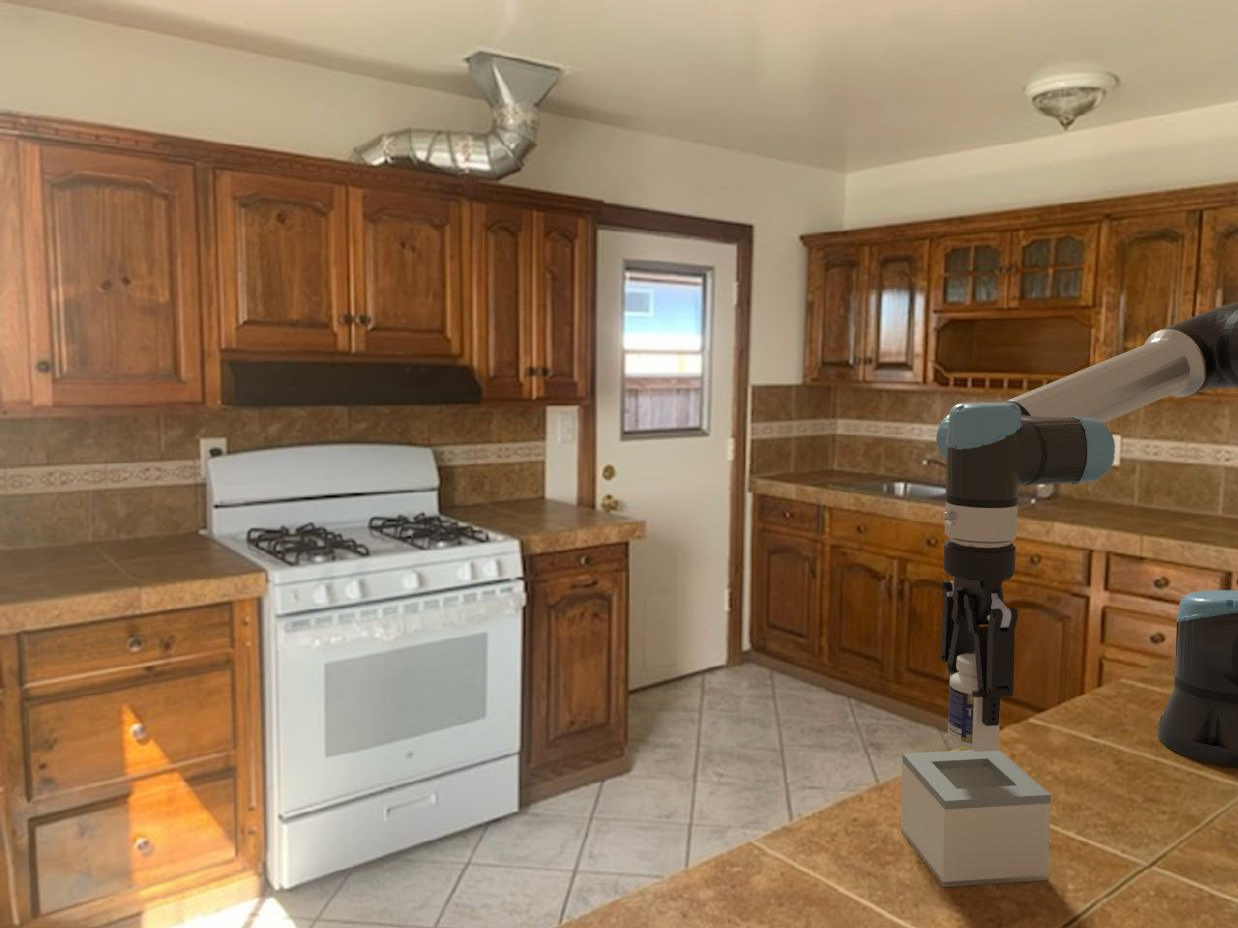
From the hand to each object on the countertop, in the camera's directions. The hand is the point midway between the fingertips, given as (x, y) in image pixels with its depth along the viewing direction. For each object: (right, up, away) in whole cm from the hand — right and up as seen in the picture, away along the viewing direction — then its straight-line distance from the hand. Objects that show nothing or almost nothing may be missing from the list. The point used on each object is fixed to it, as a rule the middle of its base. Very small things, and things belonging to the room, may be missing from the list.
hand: (972, 738), depth 106 cm
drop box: (0, -14, +2) cm, 14 cm away
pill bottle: (0, -1, 0) cm, 1 cm away
